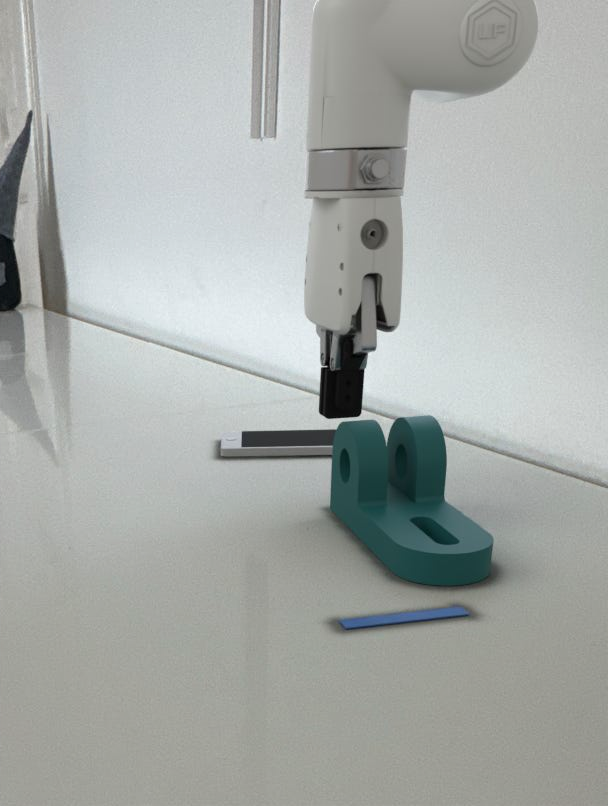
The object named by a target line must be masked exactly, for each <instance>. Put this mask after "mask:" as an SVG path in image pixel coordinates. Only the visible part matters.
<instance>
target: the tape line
mask: <svg viewBox="0 0 608 806" xmlns="http://www.w3.org/2000/svg"><path fill="white" fill-rule="evenodd" d="M469 615H470V613H469V612H468V611H467V610H465V609H464V608H463V607H462V606H459V605H458V606H451V607H443V608H435V609H426V610H417V611H407V612H397V613H390V614H381V615H372V616H363V617H355V618H346V619H339V620H338V623H340V625H341V626H342V627H343V628H344V629H345V630H352V629H361V628H369V627H377V626H385V625H394V624H395V625H396V624H403V623H411V622H412V623H413V622H420V621H429V620H436V619H437V620H438V619H439V620H440V619H446V618H454V617H455V618H457V617H464V616H465V617H466V616H469Z"/></svg>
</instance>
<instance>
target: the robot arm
mask: <svg viewBox="0 0 608 806" xmlns="http://www.w3.org/2000/svg"><path fill="white" fill-rule="evenodd" d="M539 17H540V16H539V10H538V6H537V3H536V1H535V0H316V1H315V3H314V5H313V8H312V13H311V24H310V43H309V45H310V46H309V68H308V69H309V70H308V91H307V92H308V93H307V97H308V98H307V113H306V114H307V115H306V143H305V163H304V164H305V165H304V185H303V186H304V188H303V189H304V191H303V199H312V202H311V208H310V216H309V222H308V223H309V224H308V233H307V244H306V255H305V266H304V267H305V269H304V288H303V289H304V291H303V305H304V306H303V307H304V315H305V317H306V319H307V320H308V321H309V322H310V323H312V324H313V325H315V332H316V335H317V336H318V338H319V362H320V366H321V367H320V376H319V377H320V378H319V396H318V397H319V398H318V400H319V401H318V413H319V415H320V416H322V417H324V418H326V419H327V420H334V419H335V420H336V419H337V420H338V419H348V418H349V419H350V418H359V417H360V416H361V415H362V411H363V398H364V383H365V369H366V368H367V365H368V357H369V353H373V352H375V351H376V350H377V347H378V335H377V333H378V332H377V331H379V332H383V333H392V332H394V331H395V330H397V329H398V327H399V325H400V321H401V313H402V312H401V311H402V292H403V291H402V290H403V267H404V266H403V263H404V225H403V210H402V197H403V196H404V191H405V189H404V188H405V179H406V177H405V176H406V168H407V167H406V166H407V155H408V154H407V152H408V142H409V141H408V140H409V127H410V118H411V117H410V115H411V104H412V103H411V101H412V95H414V96H415V97H416V98H418V99H420V100H422V101H425V102H427V103H436V104H441V103H449V102H454V101H458V100H466V99H469V98H474V97H481V96H482V95H486V94H489V93H491V92H494V91H496V90H498V89H500V88H502V87H503V86H504V85H506V84H508V83H509V82H510V81H511V80H513V78H515V77H516V76H517V75H518V74H519V73H520V72H521V71H522V70H523V68H524V67H525V65H526V64H527V62H528V61H529V60H530V57H531V56H532V54H533V52H534V49H535V47H536V44H537V41H538V37H539V30H540V18H539Z"/></svg>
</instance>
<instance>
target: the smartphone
mask: <svg viewBox="0 0 608 806" xmlns="http://www.w3.org/2000/svg"><path fill="white" fill-rule="evenodd" d="M336 430H337V428H326V429H325V428H323V429H321V428H319V429H278V430H277V429H273V430H272V429H271V430H270V429H269V430H268V429H267V430H228V431H227V430H225V431H222V432H221V440H220V441H221V442H220V456H221V457H269V456H270V457H271V456H273V457H274V456H323V455H324V456H325V455H326V456H329V455H331V456H332V449H333V441H334V436H335V432H336Z"/></svg>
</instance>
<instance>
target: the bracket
mask: <svg viewBox="0 0 608 806" xmlns="http://www.w3.org/2000/svg"><path fill="white" fill-rule="evenodd" d="M336 429H337V430H336V432H335V436H334V441H333V449H332V455H331V471H330V473H331V474H330V495H329V497H330V498H329V510H330V511H331V512H332V513H333V514H334V515H335V516H336V517H337V518H338V519H339V520H340V521H341V522H342V523H343V524H344V525H345V526H346V527H347V528H349V530H350V531H351V532H352V533H353V534H354V535H355V536H356V537H357V538H358V539H359V540H360V541H361V542H362V543H363V544H364V545H365V546H366V547H367V548H368V549H369V550H370V552H372V553H373V554H374V555H375V556H376V558H378V559H379V560H380V562H381V563H383V564H384V565H385V567H386V568H387V569H388V570H389V571H390V572H391V573H393V574H394V575H395V576H397V577H399V578H401V579H402V580H403V579H404V580H406V581H409V582H413V583H416V584H417V583H418V584H423V585H429V586H437V587H439V586H441V587H451V586H452V587H453V586H465V585H470V584H474V583H477V582H481V581H483V580H484V579H487V577H488V576H489V575H490V573H491V567H492V557H493V549H494V541H495V539H494V537H493V535H492V534H491V533H490V532H488V531H487V530H486V529H484V528H483V527H482V526H481V525H479V524H478V523H476V522H475V521H474V520H472V519H471V518H470V517H468V516H466V515H465V514H464V513H463V512H461V511H460V510H459V509H457V508H456V507H455V506H453V505H452V504H451V503H449V502H448V501H446V498H445V492H446V491H445V490H446V479H447V469H448V468H447V467H448V466H447V465H448V464H447V463H448V457H447V445H446V439H445V436H444V432H443V429H442V426H441V425H440V423H439V420H438V419H437V418H436V417H434V416H433V415H428V414H427V415H415V416H402V417H401V416H400V417H397V418H395V420H394V421H393V422H392V425H391V426H390V429H389V432H388V436H387V440H386V438H385V434H384V431H383V429H382V427H381V425H380V423H379V422H378V420H376V419H361V420H360V419H359V420H346V421H341V422H340V423H339V424H338V426H337V427H336ZM386 441H387V442H386Z"/></svg>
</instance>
